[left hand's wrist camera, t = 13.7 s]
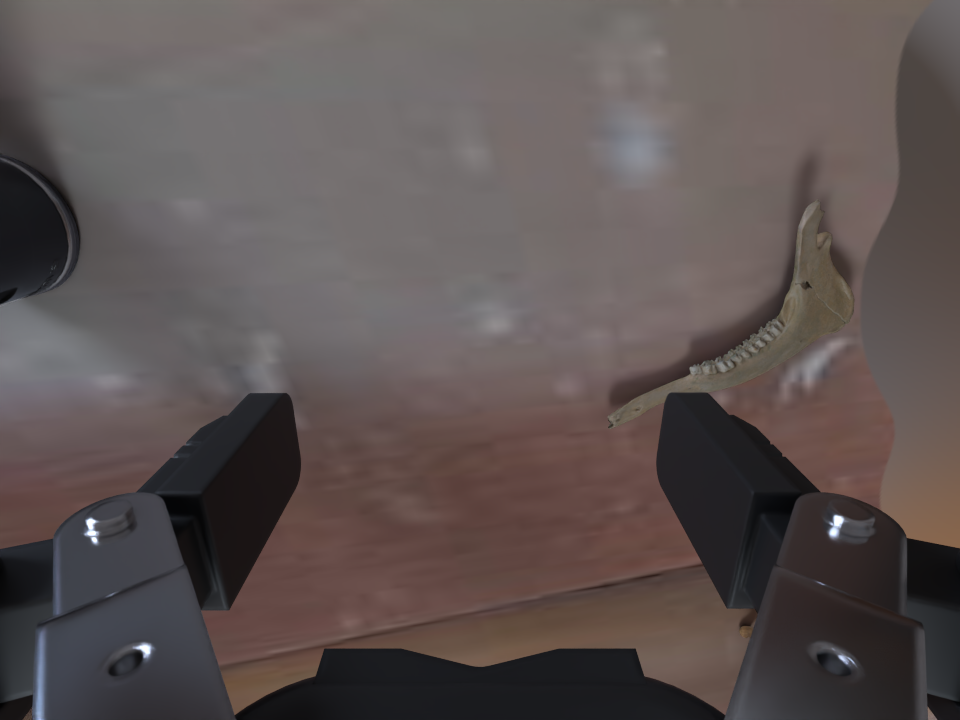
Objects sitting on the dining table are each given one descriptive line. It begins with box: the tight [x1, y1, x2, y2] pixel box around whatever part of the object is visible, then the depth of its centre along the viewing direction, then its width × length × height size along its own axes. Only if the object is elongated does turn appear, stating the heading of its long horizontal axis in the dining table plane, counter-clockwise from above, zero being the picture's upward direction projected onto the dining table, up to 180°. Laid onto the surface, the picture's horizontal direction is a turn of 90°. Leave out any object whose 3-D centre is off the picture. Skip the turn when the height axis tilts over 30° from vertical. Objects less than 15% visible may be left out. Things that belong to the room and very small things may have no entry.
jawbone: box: [608, 200, 855, 429], centre depth 38 cm, size 9×20×2 cm, turn 145°
